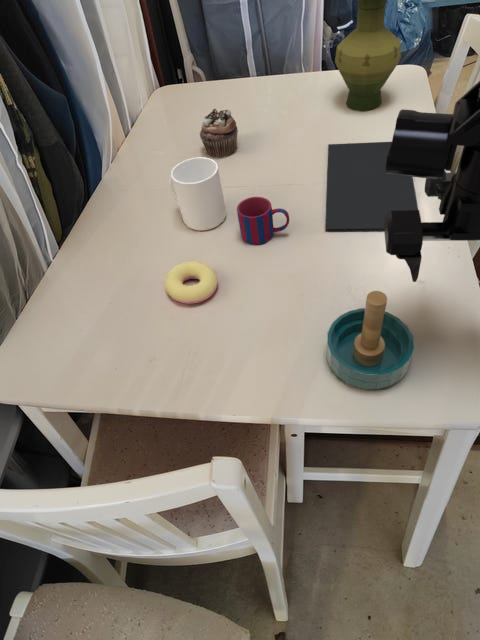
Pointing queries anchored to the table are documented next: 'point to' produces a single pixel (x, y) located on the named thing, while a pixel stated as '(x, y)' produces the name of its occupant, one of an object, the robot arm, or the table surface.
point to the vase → (367, 56)
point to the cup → (258, 220)
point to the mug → (198, 193)
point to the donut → (196, 291)
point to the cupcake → (219, 134)
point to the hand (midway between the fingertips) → (449, 280)
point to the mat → (363, 188)
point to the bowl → (393, 357)
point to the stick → (371, 331)
